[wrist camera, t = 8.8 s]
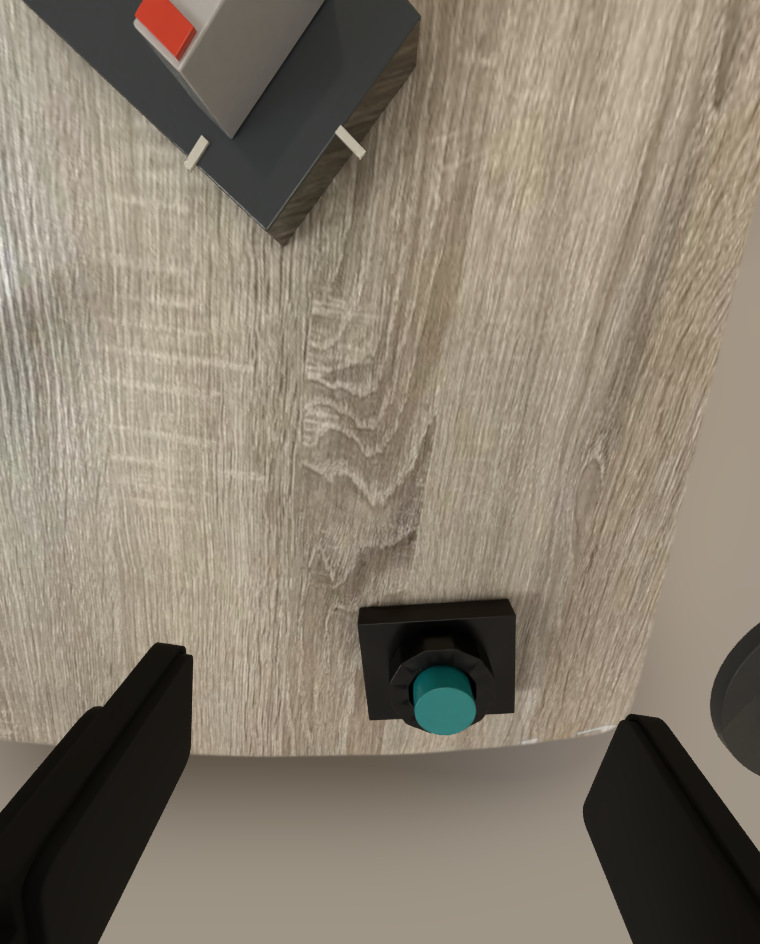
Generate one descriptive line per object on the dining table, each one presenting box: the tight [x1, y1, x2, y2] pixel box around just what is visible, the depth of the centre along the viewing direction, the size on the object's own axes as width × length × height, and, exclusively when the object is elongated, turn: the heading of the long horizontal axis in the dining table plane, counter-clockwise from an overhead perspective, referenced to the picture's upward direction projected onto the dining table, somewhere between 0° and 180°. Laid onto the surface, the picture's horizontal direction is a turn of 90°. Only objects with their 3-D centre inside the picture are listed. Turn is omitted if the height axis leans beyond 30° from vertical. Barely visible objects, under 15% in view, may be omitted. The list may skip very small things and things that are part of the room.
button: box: [413, 665, 476, 735], centre depth 25 cm, size 4×4×2 cm
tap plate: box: [22, 0, 421, 246], centre depth 17 cm, size 15×11×3 cm
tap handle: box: [134, 0, 325, 139], centre depth 14 cm, size 6×2×5 cm, turn 137°
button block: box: [358, 599, 516, 733], centre depth 27 cm, size 10×8×4 cm
